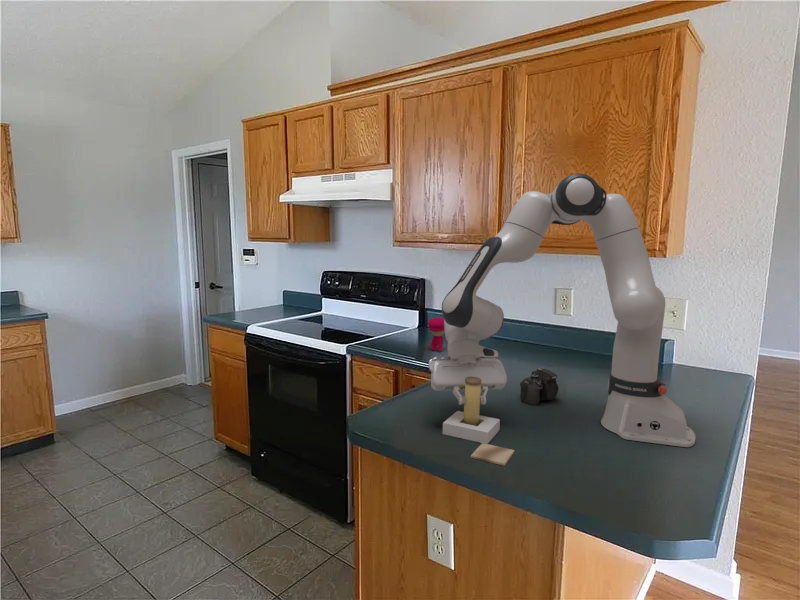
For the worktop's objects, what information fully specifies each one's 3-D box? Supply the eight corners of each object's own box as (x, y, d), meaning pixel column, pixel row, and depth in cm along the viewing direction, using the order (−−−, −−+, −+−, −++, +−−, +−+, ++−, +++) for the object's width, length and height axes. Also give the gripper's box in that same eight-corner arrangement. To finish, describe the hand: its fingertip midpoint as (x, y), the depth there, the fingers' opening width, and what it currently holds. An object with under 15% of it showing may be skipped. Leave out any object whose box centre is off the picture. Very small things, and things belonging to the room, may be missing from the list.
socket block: (499, 430, 129) (499, 419, 128) (487, 444, 120) (487, 432, 120) (457, 421, 134) (457, 410, 134) (442, 433, 126) (442, 422, 125)
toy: (449, 350, 216) (450, 317, 213) (440, 354, 209) (441, 320, 207) (432, 348, 220) (433, 315, 218) (423, 351, 213) (424, 317, 211)
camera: (549, 409, 145) (551, 377, 144) (517, 402, 151) (518, 371, 149) (561, 397, 156) (563, 367, 155) (531, 391, 162) (533, 362, 160)
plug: (481, 428, 129) (483, 378, 126) (475, 434, 125) (478, 383, 123) (466, 424, 131) (468, 375, 128) (460, 430, 127) (462, 380, 125)
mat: (514, 452, 116) (514, 450, 116) (504, 465, 109) (504, 463, 109) (482, 444, 120) (482, 442, 120) (470, 457, 113) (470, 455, 113)
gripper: (429, 351, 130) (435, 399, 122) (503, 350, 133) (513, 397, 125) (425, 363, 135) (431, 409, 127) (497, 362, 138) (507, 407, 130)
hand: (472, 403), depth 126 cm, fingers closed on plug, 4 cm apart
